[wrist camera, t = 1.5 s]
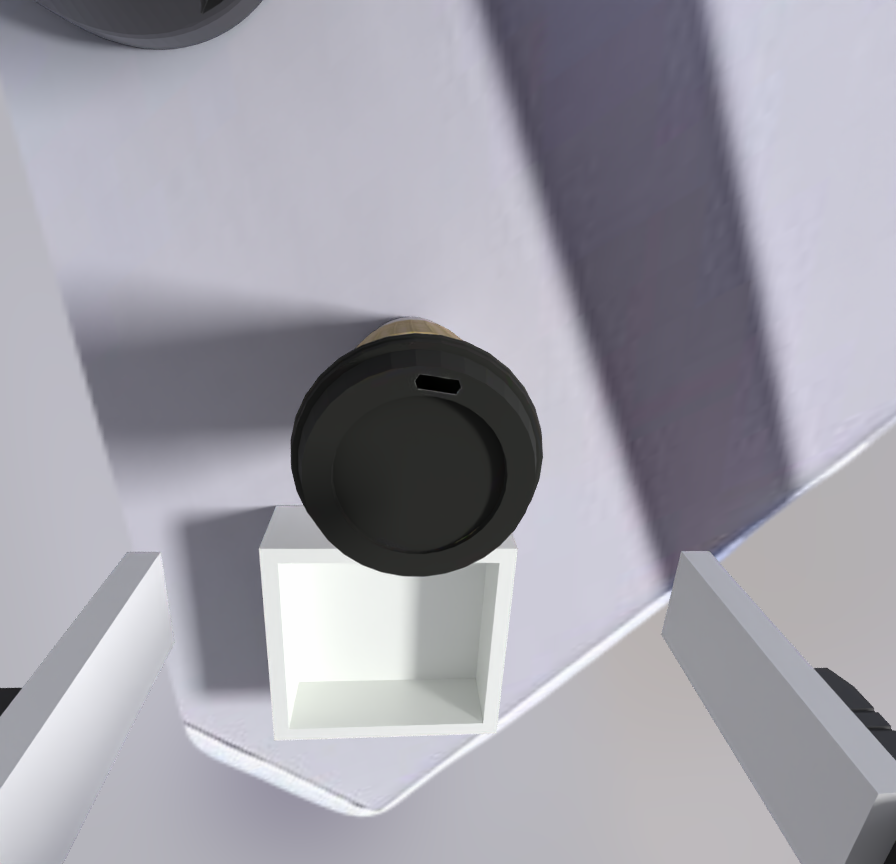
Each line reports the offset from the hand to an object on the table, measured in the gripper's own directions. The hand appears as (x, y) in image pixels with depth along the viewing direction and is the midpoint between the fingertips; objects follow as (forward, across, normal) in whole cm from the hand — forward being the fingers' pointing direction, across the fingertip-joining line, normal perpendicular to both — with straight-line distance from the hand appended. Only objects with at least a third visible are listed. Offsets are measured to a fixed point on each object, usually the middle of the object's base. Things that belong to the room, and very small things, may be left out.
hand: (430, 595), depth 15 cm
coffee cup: (+22, 0, 0) cm, 22 cm away
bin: (+21, -1, -17) cm, 27 cm away
